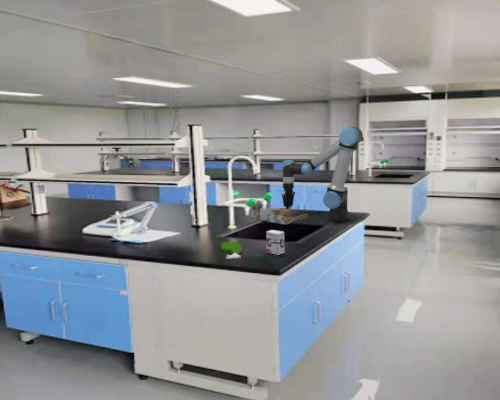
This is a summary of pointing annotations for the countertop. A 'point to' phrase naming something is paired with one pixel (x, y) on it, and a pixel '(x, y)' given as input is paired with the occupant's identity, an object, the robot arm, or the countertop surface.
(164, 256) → the countertop surface
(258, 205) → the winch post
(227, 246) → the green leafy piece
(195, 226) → the countertop surface
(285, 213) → the crate
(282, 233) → the ink box
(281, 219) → the bay
